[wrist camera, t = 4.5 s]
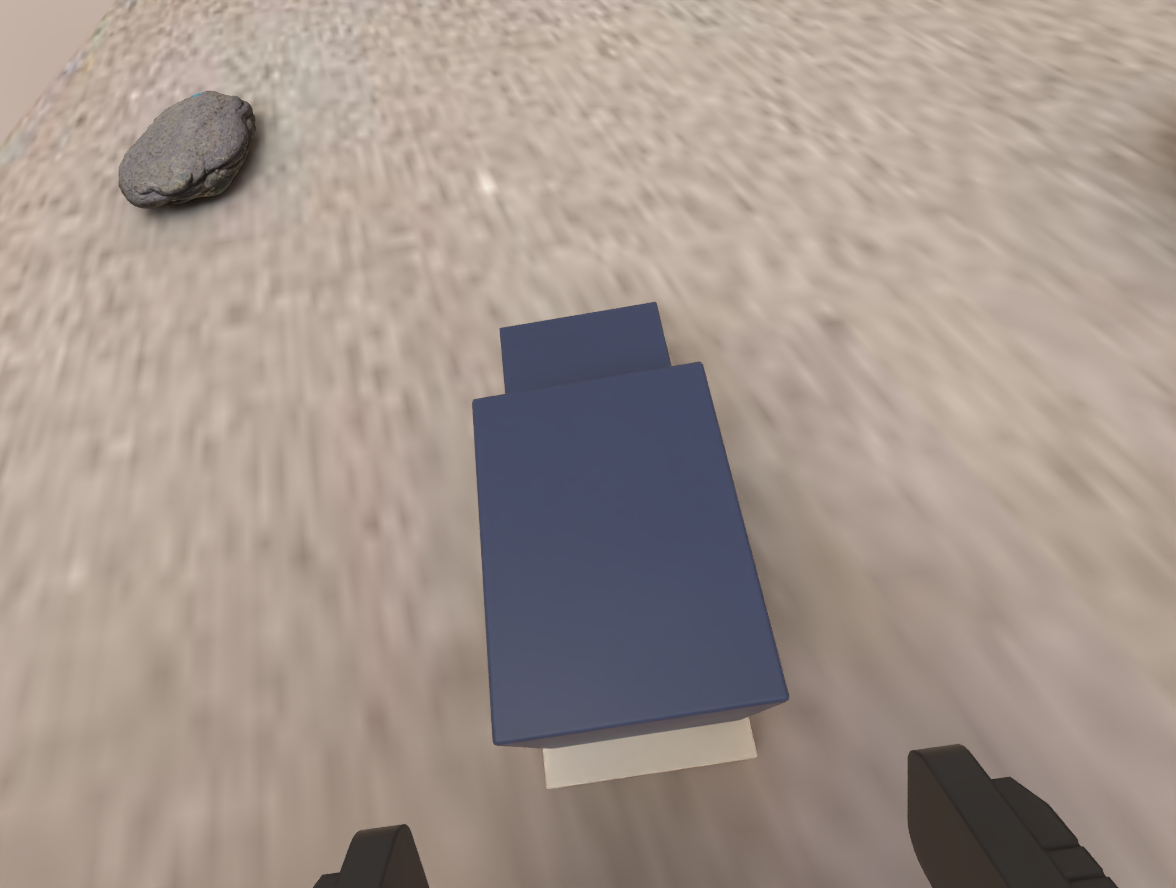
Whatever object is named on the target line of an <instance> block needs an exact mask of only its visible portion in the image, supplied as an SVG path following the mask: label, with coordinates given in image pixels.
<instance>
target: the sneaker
mask: <svg viewBox="0 0 1176 888" xmlns="http://www.w3.org/2000/svg"><path fill="white" fill-rule="evenodd" d="M500 339H501V350H502V361H503V373H504V384H505V394H503V395H497V396H491V397H485V398H479V399H474V400H473V402H472V409H473V425H474V442H475V458H476V474H477V491H478V507H479V524H480V540H481V557H482V573H483V590H484V606H485V622H486V639H487V655H488V672H489V688H490V705H491V721H492V738H493V743H494V745H497V746H512V747H529V748H543V758H544V769H545V780H546V788H547V789H553V788H560V787H567V786H573V785H580V784H587V783H593V782H600V781H607V780H613V779H620V778H626V777H633V776H640V775H646V774H653V773H660V772H666V771H673V770H679V769H686V768H693V767H699V766H706V765H713V764H719V763H726V762H732V761H739V760H746V759H752V758H757V756H758V755H757V750H756V746H755V742H754V737H753V733H752V729H751V724H750V720H749V716H751V715H754V714H756V713H759V712H761V711H764V710H766V709H769V708H771V707H774V706H776V705H779V704H781V703H783V702H786V701H787V700H789V693H788V690H787V686H786V682H785V678H784V674H783V670H782V667H781V663H780V659H779V655H778V651H777V647H776V643H775V640H774V636H773V632H772V628H771V624H770V620H769V617H768V613H767V609H766V605H765V601H764V597H763V593H762V590H761V586H760V582H759V578H758V574H757V570H756V567H755V563H754V559H753V555H752V551H751V547H750V544H749V540H748V536H747V532H746V528H745V524H744V520H743V517H742V513H741V509H740V505H739V501H738V497H737V494H736V490H735V486H734V482H733V478H732V474H731V470H730V467H729V463H728V459H727V455H726V451H725V447H724V444H723V440H722V436H721V432H720V428H719V424H718V421H717V417H716V413H715V409H714V405H713V401H712V397H711V394H710V390H709V386H708V382H707V378H706V374H705V371H704V367H703V364H702V363H701V362H695V363H689V364H683V365H677V366H671V363H670V359H669V354H668V350H667V346H666V341H665V337H664V333H663V329H662V324H661V320H660V316H659V311H658V307H657V303H656V302H652V303H646V304H640V305H634V306H628V307H622V308H617V309H611V310H605V311H599V312H593V313H587V314H581V315H575V316H569V317H563V318H557V319H551V320H545V321H540V322H534V323H528V324H522V325H516V326H510V327H504V328H500Z"/></svg>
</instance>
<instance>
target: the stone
mask: <svg viewBox="0 0 1176 888" xmlns="http://www.w3.org/2000/svg"><path fill="white" fill-rule="evenodd" d="M255 130H256V127H255V116H254V114H253V110H252V107H251V105H250V104H249V103H248V102H246V101H243V100H241V99H240V98H239V97H237V96H228V95H224V94H220V93H218V92H215V91H205V92H202V93H198V94H196V95H193V96H192V97H190V98H187V99H184V100H183V101H181V102H178V103H176V104H174V105H173V106H171V107H169V108H168V109H166V110H164V112H162V113H161V114H160V115H159V116H158V117H157V118H155V120H154V122H153V124H151V125H150V126H149V127H148V129H147V130H146V132H145V133H143V135H142V136H141V137H140V138H139V139H138V140H137V142H136V143H135V144H134V145H133V146H131V148H130V149H129V150H128V151H127V153H126V154H125V155H124V159H123V160H122V162H121V164H120V166H119V187H120V189H121V191H122V193H123V195H124V196H125V197H126V199H127V200H128V201H129V202H130V203H131V204H133V205H134V206H136V207H140V208H155V207H160V206H162V205H164V204H166V203H172V204H178V203H185V202H187V201H189V200H191V199H195V198H198V197H208V196H216V195H219V194H221V193H222V192H223V191H224V190H225V189H227V188H228V187H229V186H230V184H231V182H232V180H233V178H234V176H235V175H236V174H237V172H238V170H239V169H240V168H241V165H242V164H243V163H244V161H245V159H246V157H247V153H248V151H249V150H250V148H251V145H252V141H253V140H252V137H253V135H254V132H255Z"/></svg>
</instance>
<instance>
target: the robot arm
mask: <svg viewBox="0 0 1176 888" xmlns="http://www.w3.org/2000/svg"><path fill="white" fill-rule="evenodd" d="M908 829H909V834H910V838H911V842H912V845H913V848H914V851H915V854H916V856H917V859H918V861H919V863H920V865H921V867H922V869H923V871H924V873H925V875H926V877H927V878H928V880H929V882H930V884H931V886H932V887H933V888H1118V887H1117V886H1116V885H1115V883H1114V882H1113V881H1112V880H1111V879H1110V877H1106V876H1105V875H1104V873H1103V869H1102V868H1101V867H1100V865H1099V864H1098V863H1097V862H1096V861H1095V859H1094V858H1093V857H1092V856H1091V855H1090V853H1089V852H1088V851H1087V850H1086V849H1085V847H1084V846H1083V847H1081V846H1080V845H1079V843H1078V839H1077V838H1076V837H1075V835H1074V834H1073V833H1072V832H1071V831H1070V829H1069V828H1068V827H1067V826H1066V825H1065V824H1064V822H1063V821H1062V820H1061V819H1060V818H1059V816H1058V815H1057V814H1056V813H1055V812H1054V810H1053V809H1052V808H1051V807H1050V806H1049V804H1047V803H1046V802H1045V801H1043V800H1042V799H1040V798H1039V797H1038V796H1036V795H1035V794H1033V793H1032V792H1031V791H1029V790H1028V789H1026V788H1025V787H1024V786H1022V785H1021V784H1019V783H1018V782H1017V781H1015V780H1014V779H1012V778H1011V777H1005V778H998V779H990V777H989V776H988V775H987V773H986V772H985V771H984V769H983V768H982V767H981V766H980V764H979V763H978V762H977V760H976V759H975V758H974V756H973V755H972V754H971V753H970V752H969V750H968V749H966V748H965V747H964V746H963V745H960V744H955V745H948V746H940V747H933V748H926V749H919V750H912V751H910V753H909V755H908ZM313 888H429V885H428V882H427V879H426V876H425V873H424V870H423V867H422V864H421V861H420V858H419V855H418V852H417V848H416V845H415V842H414V839H413V836H412V833H411V831H410V828H409V827H408V826H407V825H406V824H402V825H395V826H388V827H381V828H374V829H367V830H360V831H358V832H357V833H356V834H355V835H354V837H353V839H352V841H351V843H350V846H349V849H348V851H347V854H346V857H345V860H344V862H343V865H342V868H341V871H340V872H339V873H332V874H325V875H322V876H321V877H320V879H319V880H318V881H317V883H316V884H315V885H314V887H313Z"/></svg>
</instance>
